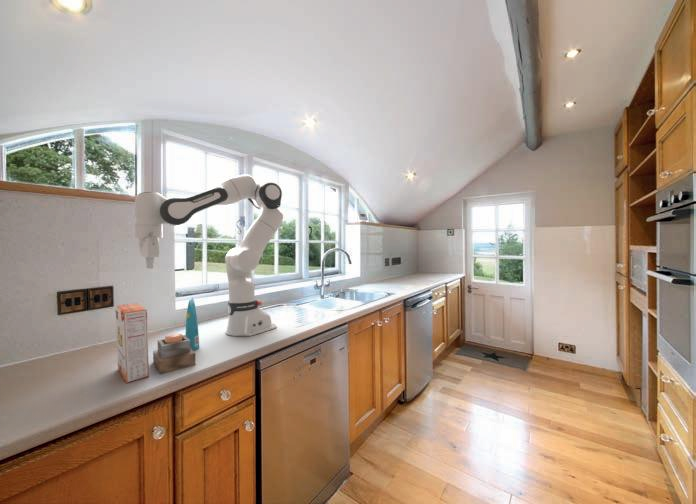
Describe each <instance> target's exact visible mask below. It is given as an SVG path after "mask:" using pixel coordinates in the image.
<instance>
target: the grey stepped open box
mask: <svg viewBox="0 0 696 504" xmlns="http://www.w3.org/2000/svg"><path fill="white" fill-rule="evenodd" d="M152 356H153V358H152V361H153V364H154V366H155V369H156V370H157V371H158V373H159V375H162V374H166V373H169V372H174V371H177V370H180V369H184V368H188V367H192V366H195V365H196V352H195V350H192V349H191V348H190V340H189V339H188V338H187V337H186V336H185V334H182V341H180V342H175V343H170V344H165V338H161V339H157V350H156V349H155V350H153V351H152Z"/></svg>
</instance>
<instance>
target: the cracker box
mask: <svg viewBox="0 0 696 504" xmlns="http://www.w3.org/2000/svg"><path fill="white" fill-rule="evenodd" d="M115 321H116V323H115V324H116V344H117V345H116V348H117V352H116V353H117V369H118V371H119V373H120V374H121V376H122V377H123V379H124V381H125V383H126V384H127V383H133V382H135V381H138V380H141V379H145V378H148V377H149V376H150V371H149V370H150V365H149V338H148V335H149V333H148V311H147V309H146V308H145V307H143V306H142V305H140V304H139V303H126V304H120V305H116V306H115Z"/></svg>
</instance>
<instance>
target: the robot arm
mask: <svg viewBox="0 0 696 504" xmlns="http://www.w3.org/2000/svg"><path fill="white" fill-rule="evenodd" d="M282 195H283V192H282V189H281V187H280V186H279V184H277V183H275V182H272V181H271V182H270V181H268V182H265V183H263V184H261V185H260V184H259V183H257V181H256V179H255V178H254V177H253V176H252V175H250V174H246V173H245V174H241V175H235V176H232V177H229V178H226V179H224V180H222V181H220V182H218V183H216V184H215V185H213V186H212V187H211V188H209V189H208V190H206V191H204V192H200V193H197V194H194V195H193V196H189V197H185V198H181V197H180V198H179V197H178V198H176V197H172V198H167V197H165V196H163V195H162V194H160V193H159V192H157V191H144V192H141V193H140V192H139V193H138V194H137V195H136V197H135V201H134V216H135V223H134V237H135V239H138V246H139V252H140V257H145V264H146V269H150V270H151V269H153V268H154V263H155V262H154V261H155V258H159V257H160V239H163V238H164V237H163V225H169V226H172V227H179V226H182V225H184V224H186V223H187V222H188V221H189V220H190V219H191V218H192V217H193V216H194V215H195V214H197V213H199V212H202V211H204V210H207V209H209V208H211V207H215V206H224V207H228V206H230V205H234V204H237V203H240V202H242V201H244V200H248V201H249V202H250V203H251V205H252V206H254V208H256V209H258V210H260V213H259V214H258V216H257V218H255V220H254V221H253V223H252V224H251V225H250V227H249V228H248V229H247V231H246V232H245V235H244V237H243V239H242V240H241V242H240V244H239V245H238V247H233V248H231V249H230V250H229V251H227V253H226V255H225V258H224V261H225V267H226V275H227V280H228V282H227V283H228V302H227V314H228V318H227V319H228V321H227V327H226V331H225V334H226V335H227V336H232V337H233V336H234V337H235V336H236V337H237V336H238V337H241V336H242V337H243V336H244V337H245V336H246V337H252V336H254V335H258V334H261V333H264V332H268V331H271V330H275V329H277V325H276V323H274V322H272V317H271V315H270V314H269V313H268V312H266V311H265V310H263V309H262V308H260V307H259V306H262V304H263V301H261V300H256V299H255V282H254V279H253V275H252V271H254V270H256V268H257V267H258V266H259V264H260V260H261V257H262V255H263V253H264V251H265V249H266V248H267V245H268V244H269V243H270V241H271V240H272V238H273V237H274V235H275V234H276V233H277V231H278V229H279V228H280V226H281V224H282V221H283V219H284V213H283V211H281V209H279V208H280V207H281V201H282V197H283V196H282Z"/></svg>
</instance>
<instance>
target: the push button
mask: <svg viewBox="0 0 696 504" xmlns="http://www.w3.org/2000/svg"><path fill="white" fill-rule="evenodd" d="M182 335H183V334H182V333H171V334H168V335H165V337H164V339H165V344H170V343H175V342H180V341H182Z"/></svg>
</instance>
